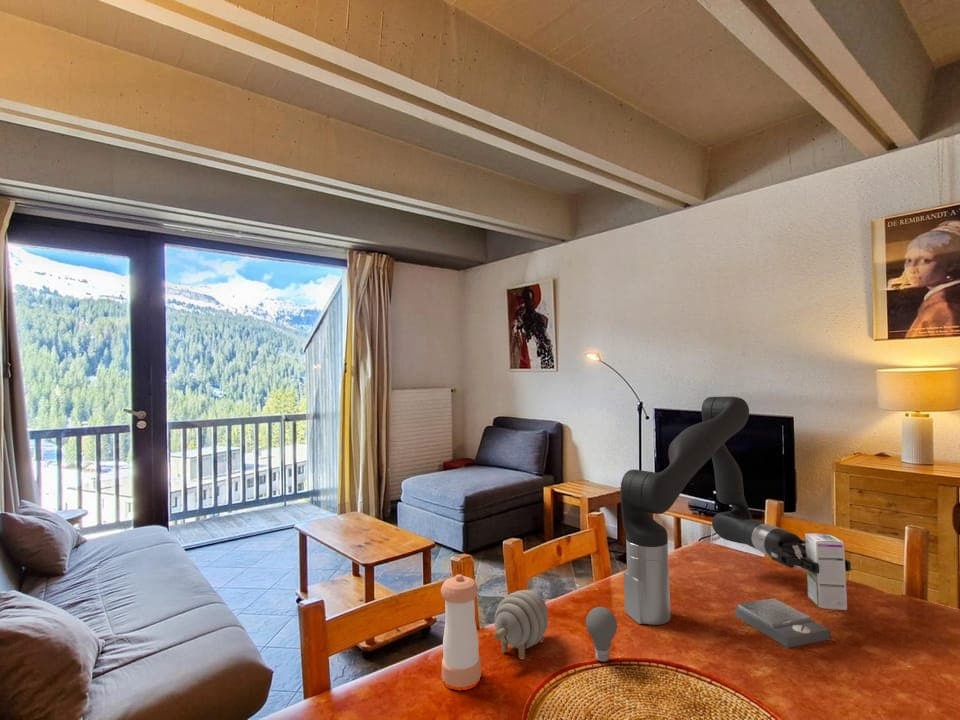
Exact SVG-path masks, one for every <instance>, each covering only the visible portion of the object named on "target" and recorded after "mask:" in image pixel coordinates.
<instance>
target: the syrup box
mask: <svg viewBox="0 0 960 720" xmlns="http://www.w3.org/2000/svg"><path fill="white" fill-rule="evenodd" d="M804 537H805V538H804V539H805V544H806V558H807V559H809V560H811V561H814V562H816V563H818V564H819V573H817V574H815V573H812V572H810V571H808V570H806V582H807V583H806V585H807V598H809V600H810V601H812V603H814V604H815V605H816V606H817V608H820V609H826V610H836V611H837V610H840V611H847V610H848V597H847V596H848V594H847V577H846V572H847V571H845V559H846V557H845V555H846V554H845V543H844V542H843V540H841V539H839V538H837V537H835V536H834V535H833V534H829V533H828V534H827V533H821V532H820V533H816V532H815V533H814V532H812V533H811V532H810V533H805V536H804Z"/></svg>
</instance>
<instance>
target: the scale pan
mask: <svg viewBox="0 0 960 720" xmlns="http://www.w3.org/2000/svg"><path fill="white" fill-rule="evenodd" d="M737 607H738V608H740V609H742V610H743V611H745V612H747V613H748V614H750V615H752V616H753V617H755V618H757V619H759V620H760V621H762V622H764V623H765V624H767V625H769V626H770V627H772V628H775V627H780V626H786V625H791V624H796V623H802V622H807V621H811V620H812V617H811V616H809V615H808V614H805V613H803V612H802V611H800V610H798V609H796V608H794V607H792V606H790V605H788V604H786V603H784V602H783V601H780V600H778V599H777V598H775V597H772V598H768V599H767V598H766V599H761V600H754V601H748V602H743V603H738V604H737Z"/></svg>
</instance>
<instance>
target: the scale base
mask: <svg viewBox="0 0 960 720" xmlns="http://www.w3.org/2000/svg"><path fill="white" fill-rule="evenodd" d="M734 613H735V617H736V618H738V619H740V620H741V621H743V622H744V623H746V624H747V625H749V626H751V627H753V628H754V629H756V630H758V631H759V632H761V633H762V634H764V635H765V636H767V637H769V638H771V640H773V641H776V643H779V644H780V645H782V646H783V647H785V648H787V649H789V648H793V647H794V648H795V647H800V646H804V645H810V644H813V643H819V642H824V641H828V640H829V641H830V640H831V630H830V629H829V628H828V627H826V626H824V625H822V624H821V623H818V622H816V621H814V620H812V619H811V621H807V622H802V623H796V624H791V625H786V626H780V627H775V628H772V627H770V626H769V625H767V624H765V623H764V622H762V621H760V620H759V619H757V618H755V617H753V616H752V615H750V614H748V613H747V612H745V611H743V610H742V609H740V608H738V606H735V610H734Z"/></svg>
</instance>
